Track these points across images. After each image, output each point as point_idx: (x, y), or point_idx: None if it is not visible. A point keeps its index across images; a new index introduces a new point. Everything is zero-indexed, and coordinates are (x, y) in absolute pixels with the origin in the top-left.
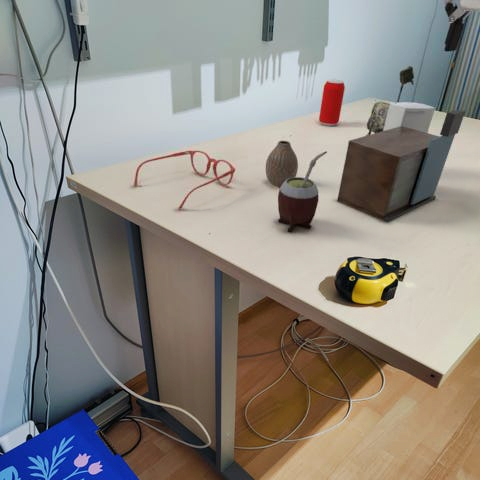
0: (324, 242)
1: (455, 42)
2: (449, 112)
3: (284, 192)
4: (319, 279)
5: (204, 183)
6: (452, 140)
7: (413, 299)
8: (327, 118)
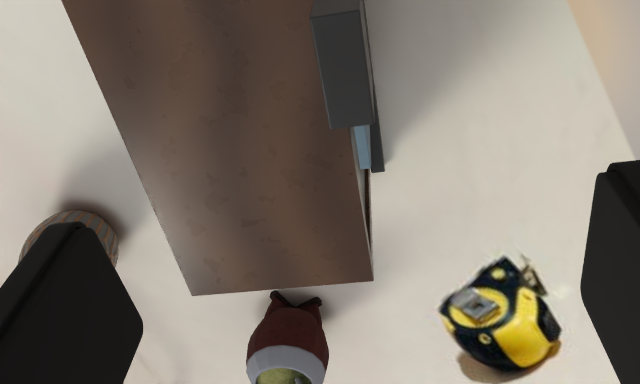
0: (375, 308)
1: (90, 313)
2: (339, 124)
3: None
4: (454, 368)
5: None
6: None
7: (587, 312)
8: None
